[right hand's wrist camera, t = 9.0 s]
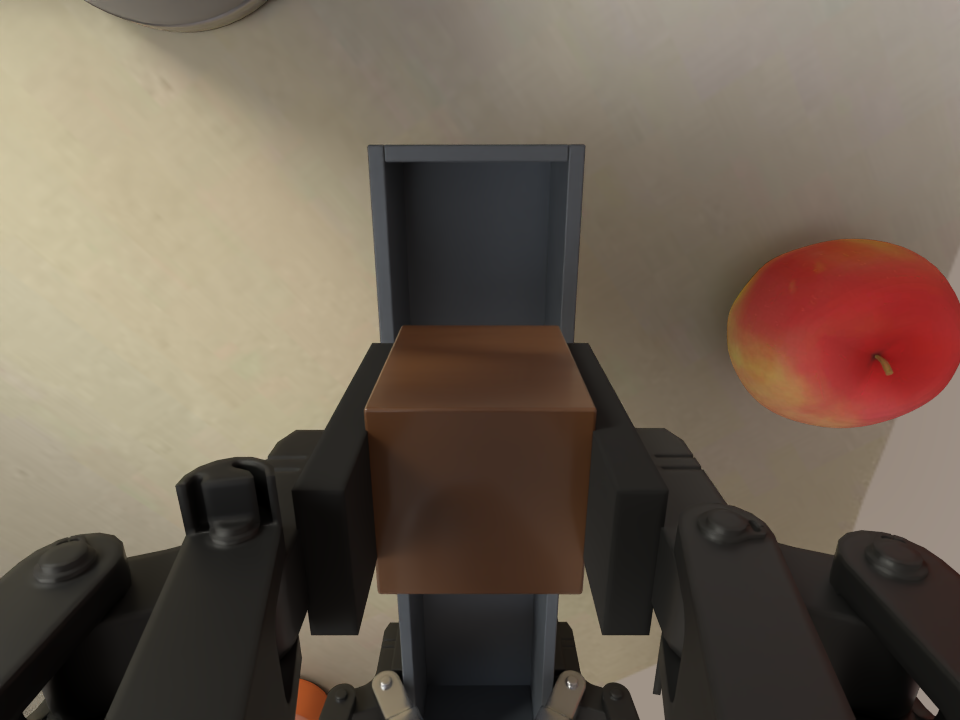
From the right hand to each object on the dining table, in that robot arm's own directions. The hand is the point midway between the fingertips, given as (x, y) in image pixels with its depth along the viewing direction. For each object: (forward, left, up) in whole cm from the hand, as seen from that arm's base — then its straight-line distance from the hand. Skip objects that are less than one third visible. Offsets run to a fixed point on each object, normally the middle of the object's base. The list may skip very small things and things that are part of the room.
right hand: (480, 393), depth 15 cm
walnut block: (0, 0, 0) cm, 0 cm away
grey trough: (0, -8, -10) cm, 13 cm away
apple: (+18, -3, -20) cm, 27 cm away
